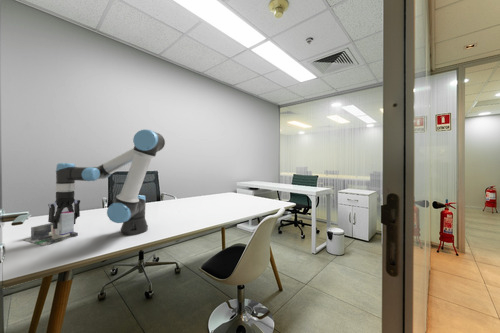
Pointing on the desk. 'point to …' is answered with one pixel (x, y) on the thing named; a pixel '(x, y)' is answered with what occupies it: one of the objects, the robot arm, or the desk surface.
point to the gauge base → (45, 235)
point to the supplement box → (66, 222)
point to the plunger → (53, 235)
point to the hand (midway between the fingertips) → (64, 232)
